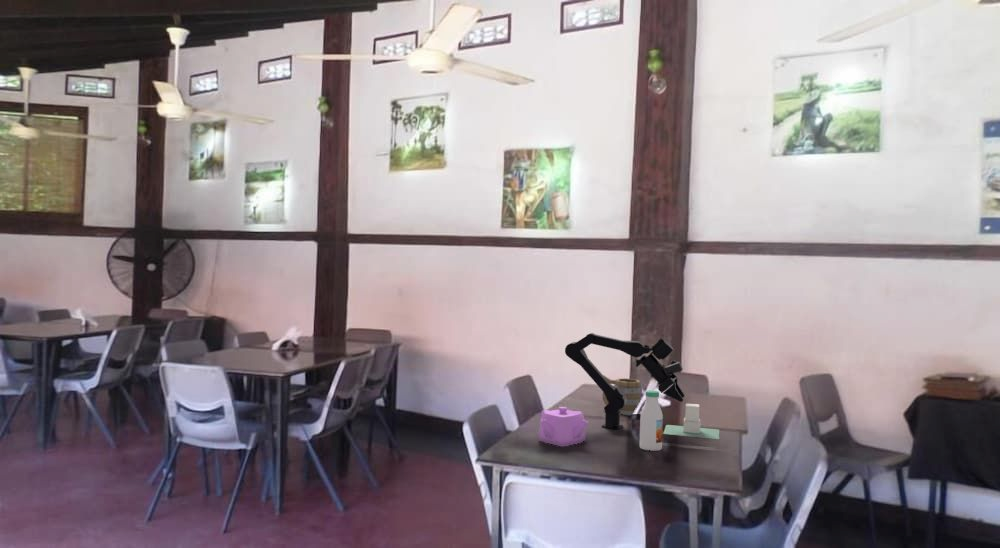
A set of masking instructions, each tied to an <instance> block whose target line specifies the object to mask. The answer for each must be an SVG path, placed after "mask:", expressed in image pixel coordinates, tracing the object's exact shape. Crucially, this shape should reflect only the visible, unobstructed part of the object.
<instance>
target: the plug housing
mask: <svg viewBox="0 0 1000 548" xmlns="http://www.w3.org/2000/svg"><path fill="white" fill-rule="evenodd" d="M682 426H683V432H689V433H700V428H701V419H700V404H699V403H698V404H697V403H685V416H684V417H683V425H682Z"/></svg>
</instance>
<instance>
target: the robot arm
mask: <svg viewBox="0 0 1000 548" xmlns="http://www.w3.org/2000/svg"><path fill="white" fill-rule="evenodd" d="M590 345H594V346H595V345H596V346H599V347H605V348H609V349H614V350H617V351H621V352H623V353H625V354H627V355H629V356H631V357H633V358H636V359H635V366H636V367H639V366H640V365H641V366H642V368H644V369H645V370H646V371H647V373H648V374H649V375H650V378H653V379H654V380H655V381H656V382H657V385H658V387H657V389H658V392H659V393H661V394H663V395H666V396H668V397H670V398H672V399H674V400H677V401H678V402H680V403H682V402H683V401H684V399H683V398H685V394H684V392H683V391H682V388H681V387H680V385H679V383H678V375H677V374H676V373H680V372H682V371H683V367H682V363H681V362H680V361H677V360H675V359H674V360H671V362H670V364H669V365H667V366H666V365H665V364H663V363H661V362H660V360H662V361H664V360H666V359H667V358H668V357H669V356H670V355H671V354H673V352H675V349H674V347H673V346H672V345H671V344H670V343H669V342H668V341H666V340H665V339H664V338H663V337H661V338H659V340H658V341H657V342H656V343H655V344H654V345H647V344H644V342H642V341H640V340H621V339H618V338H613V337H608V336H603V335H600V334H595V333H593V332H590V333H588V334H586V336H584V337H582V338H581V339H579V340H577V341H573V342H570V343H569V344H567V345H566V346H565V349H564V353H565V355H566V357H568V358H569V359H570V360H572V361H573V362H574V363H577V365H579V366H580V367H581V368H582V369H583V370H584V371H585V373H586V374H587V375H588V376H589V377H590V378H591V380H593V382H594V383H595V384H596V385H597V386H598V387H599V389H600V390H601V391H602V393H603V392H604V394H605V396H606V398H607V400H608V402H609V403H608V404H607V405H605V406H604V408H603V410H604V413H605V421H604V423H605V424H602V425H601V428H606V429H612V430H619V429H621V428H623V427H624V425H623V424H621V414H620V411H619V410H620V409H621V408H623V406H624V405H625V404H626V401H627V398H626V396H625V392H623V391H622V390H621V388H620V387H619V386H617V388H615V387H614V385H613V384H610V383H609V382H608V380H607V379H606V378H605V377H604V376H605V375H604V376H603V374H602V372H601V371H600V370H599V369H598V368H597V366H596V365H595V364H594V363H593V362H592V361H591V360H590V359H589V358H588V355H587V353H586V351H585V350H584V349H585V348H587V347H589V346H590ZM647 354H648V355H647ZM641 356H642V357H641ZM639 357H640V358H639Z"/></svg>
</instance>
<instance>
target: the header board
mask: <svg viewBox="0 0 1000 548" xmlns="http://www.w3.org/2000/svg"><path fill="white" fill-rule="evenodd" d="M683 426H684V425H673V424H666V425H665V427H664V431H663V434H664V435H672V436H682V437H683V436H684V437H693V438H702V439H704V438H705V439H713V440H720V429H716V428H705V427H700V433H689V432H683ZM663 434H662V435H663Z"/></svg>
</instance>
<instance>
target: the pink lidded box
mask: <svg viewBox="0 0 1000 548" xmlns="http://www.w3.org/2000/svg"><path fill="white" fill-rule="evenodd" d="M539 422H540V424H539V427H538V428H539V429H538V439H539V441H540V440H542V441H545V442H548V443H552V444H556V445H559V446H566V445H572V444H576V443H579V444H581V443H580V442H582V443H584V442H585V440H586V436H587V435H586V434H587V433H586V430H587V429H586V428H587V426H588V424H589V421H588V420H586V419H585V417H584V412H583V411H582V410H581V411H580V410H575V411H574V410H571V409H568V407H567V406H559V407H558V409H553V410H547V409H545V410H541V413H540V420H539ZM583 441H584V442H583ZM576 445H577V444H576ZM572 446H573V445H572Z"/></svg>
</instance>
